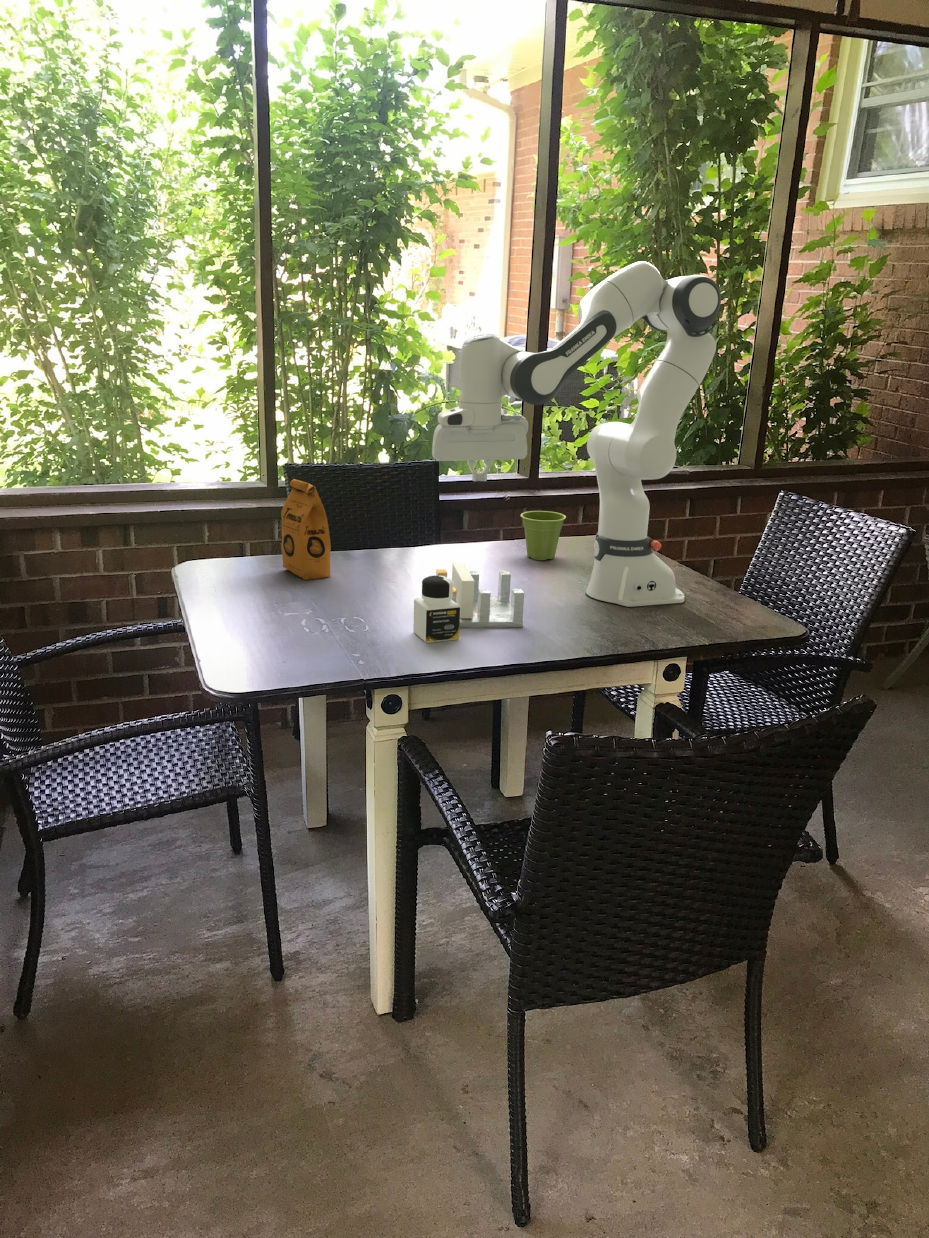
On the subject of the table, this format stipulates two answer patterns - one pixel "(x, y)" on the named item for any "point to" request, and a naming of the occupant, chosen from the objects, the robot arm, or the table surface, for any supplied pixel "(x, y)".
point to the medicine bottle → (436, 611)
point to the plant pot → (542, 533)
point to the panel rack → (493, 604)
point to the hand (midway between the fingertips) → (479, 480)
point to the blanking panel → (463, 589)
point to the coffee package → (305, 533)
